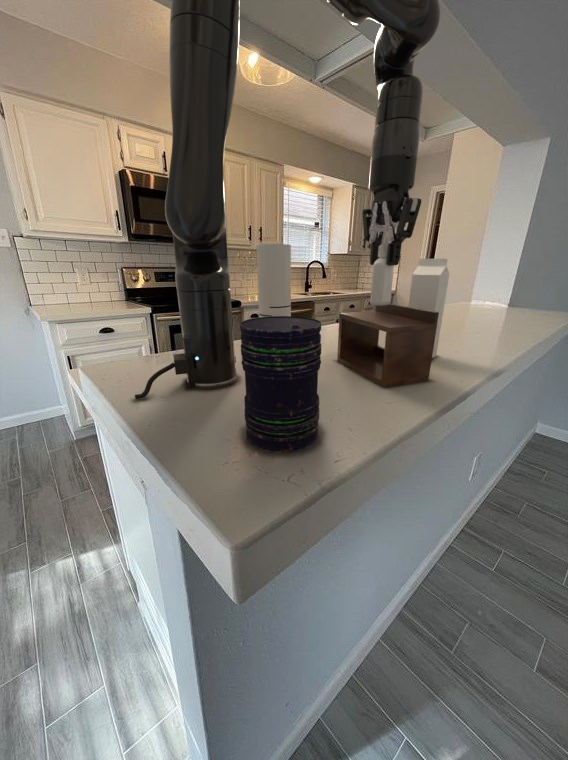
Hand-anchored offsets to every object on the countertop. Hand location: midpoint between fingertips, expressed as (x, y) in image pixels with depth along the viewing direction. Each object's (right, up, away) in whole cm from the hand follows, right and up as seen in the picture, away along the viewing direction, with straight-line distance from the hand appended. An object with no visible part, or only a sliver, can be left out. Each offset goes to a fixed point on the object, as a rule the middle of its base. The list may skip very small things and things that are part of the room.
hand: (383, 264), depth 61 cm
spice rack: (+1, -20, +8) cm, 21 cm away
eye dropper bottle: (0, -7, +3) cm, 8 cm away
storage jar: (-19, -29, -17) cm, 39 cm away
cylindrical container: (-21, -17, +15) cm, 31 cm away
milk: (+14, -16, +17) cm, 27 cm away
